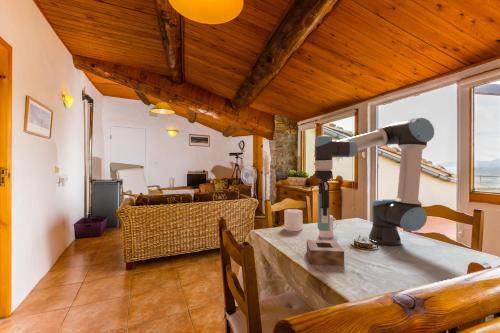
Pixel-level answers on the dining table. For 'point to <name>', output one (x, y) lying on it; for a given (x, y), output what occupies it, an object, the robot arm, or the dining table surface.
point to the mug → (330, 233)
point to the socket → (325, 252)
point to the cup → (293, 220)
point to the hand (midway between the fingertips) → (323, 221)
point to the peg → (320, 225)
